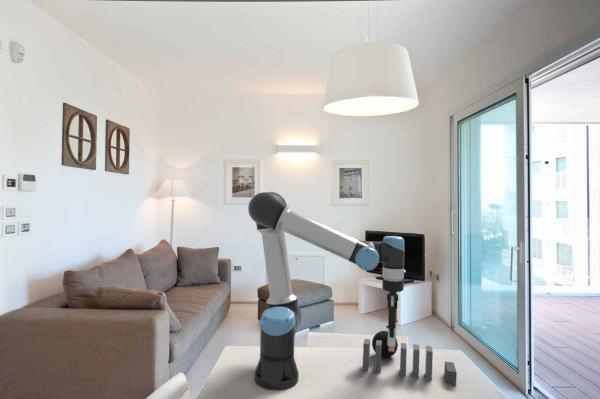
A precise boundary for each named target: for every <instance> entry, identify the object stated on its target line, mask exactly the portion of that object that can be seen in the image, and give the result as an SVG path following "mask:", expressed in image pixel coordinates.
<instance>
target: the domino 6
mask: <svg viewBox="0 0 600 399" xmlns="http://www.w3.org/2000/svg"><path fill="white" fill-rule="evenodd" d="M433 353H434V351H433V347H432V346H431V345H425V358H424V359H425V361H424V362H425V365H424V377H425V380H428V381H432V380H433V358H434V355H433Z"/></svg>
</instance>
